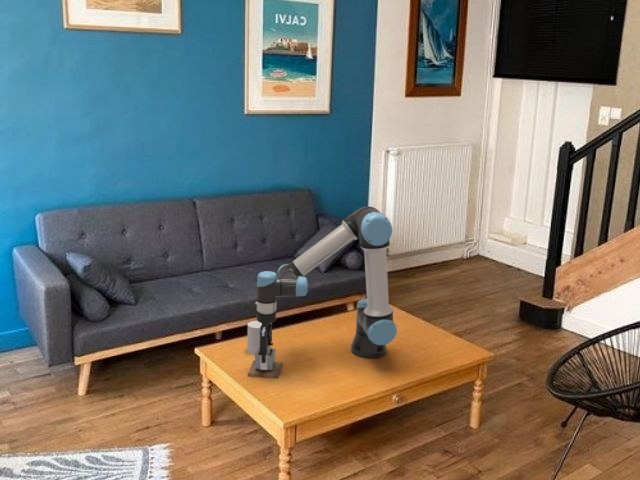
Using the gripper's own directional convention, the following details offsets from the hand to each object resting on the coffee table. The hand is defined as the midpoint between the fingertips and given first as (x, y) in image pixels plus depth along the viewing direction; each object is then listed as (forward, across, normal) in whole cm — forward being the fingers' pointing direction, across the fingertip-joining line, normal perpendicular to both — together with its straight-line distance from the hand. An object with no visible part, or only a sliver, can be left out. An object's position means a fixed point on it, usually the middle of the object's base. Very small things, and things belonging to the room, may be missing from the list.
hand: (265, 365), depth 270 cm
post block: (+2, 0, 0) cm, 2 cm away
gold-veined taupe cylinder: (+3, -18, -7) cm, 19 cm away
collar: (0, 0, 0) cm, 0 cm away
